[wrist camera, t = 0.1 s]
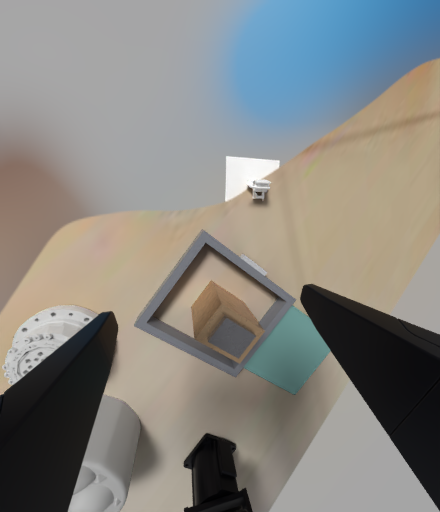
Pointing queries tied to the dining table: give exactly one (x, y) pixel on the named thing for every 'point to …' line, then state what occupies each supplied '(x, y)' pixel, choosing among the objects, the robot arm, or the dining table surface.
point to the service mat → (289, 352)
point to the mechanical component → (43, 337)
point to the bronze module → (224, 323)
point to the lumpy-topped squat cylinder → (108, 459)
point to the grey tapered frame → (187, 342)
